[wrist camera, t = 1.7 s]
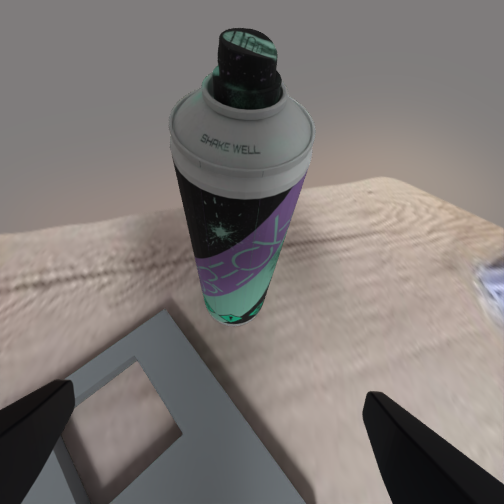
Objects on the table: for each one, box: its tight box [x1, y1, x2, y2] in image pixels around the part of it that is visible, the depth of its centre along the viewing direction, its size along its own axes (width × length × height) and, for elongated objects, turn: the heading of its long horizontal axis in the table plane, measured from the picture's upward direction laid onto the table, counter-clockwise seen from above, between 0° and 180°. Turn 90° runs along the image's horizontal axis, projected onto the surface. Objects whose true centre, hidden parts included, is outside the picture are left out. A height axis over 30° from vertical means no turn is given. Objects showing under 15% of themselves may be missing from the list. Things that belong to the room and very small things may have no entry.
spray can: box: [169, 28, 316, 326], centre depth 16 cm, size 6×6×20 cm
